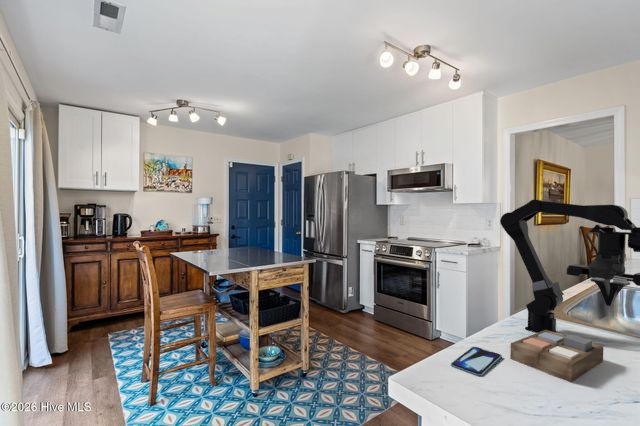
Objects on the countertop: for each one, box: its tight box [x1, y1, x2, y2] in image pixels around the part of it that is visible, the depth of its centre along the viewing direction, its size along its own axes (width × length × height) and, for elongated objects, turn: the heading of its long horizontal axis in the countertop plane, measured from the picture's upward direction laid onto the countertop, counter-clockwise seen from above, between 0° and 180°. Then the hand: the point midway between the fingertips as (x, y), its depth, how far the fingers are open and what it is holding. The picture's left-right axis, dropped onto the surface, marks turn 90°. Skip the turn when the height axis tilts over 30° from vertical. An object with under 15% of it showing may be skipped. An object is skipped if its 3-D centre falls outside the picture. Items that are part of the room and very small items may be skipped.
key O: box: [564, 334, 593, 352], centre depth 82 cm, size 4×4×3 cm
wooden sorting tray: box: [509, 330, 605, 383], centre depth 82 cm, size 13×19×4 cm
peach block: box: [523, 338, 550, 350], centre depth 82 cm, size 4×4×3 cm
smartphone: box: [450, 346, 503, 378], centre depth 81 cm, size 7×1×15 cm
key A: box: [549, 346, 579, 360], centre depth 77 cm, size 4×4×3 cm
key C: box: [538, 332, 564, 343], centre depth 87 cm, size 4×4×3 cm
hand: (608, 305), depth 90 cm, fingers closed
